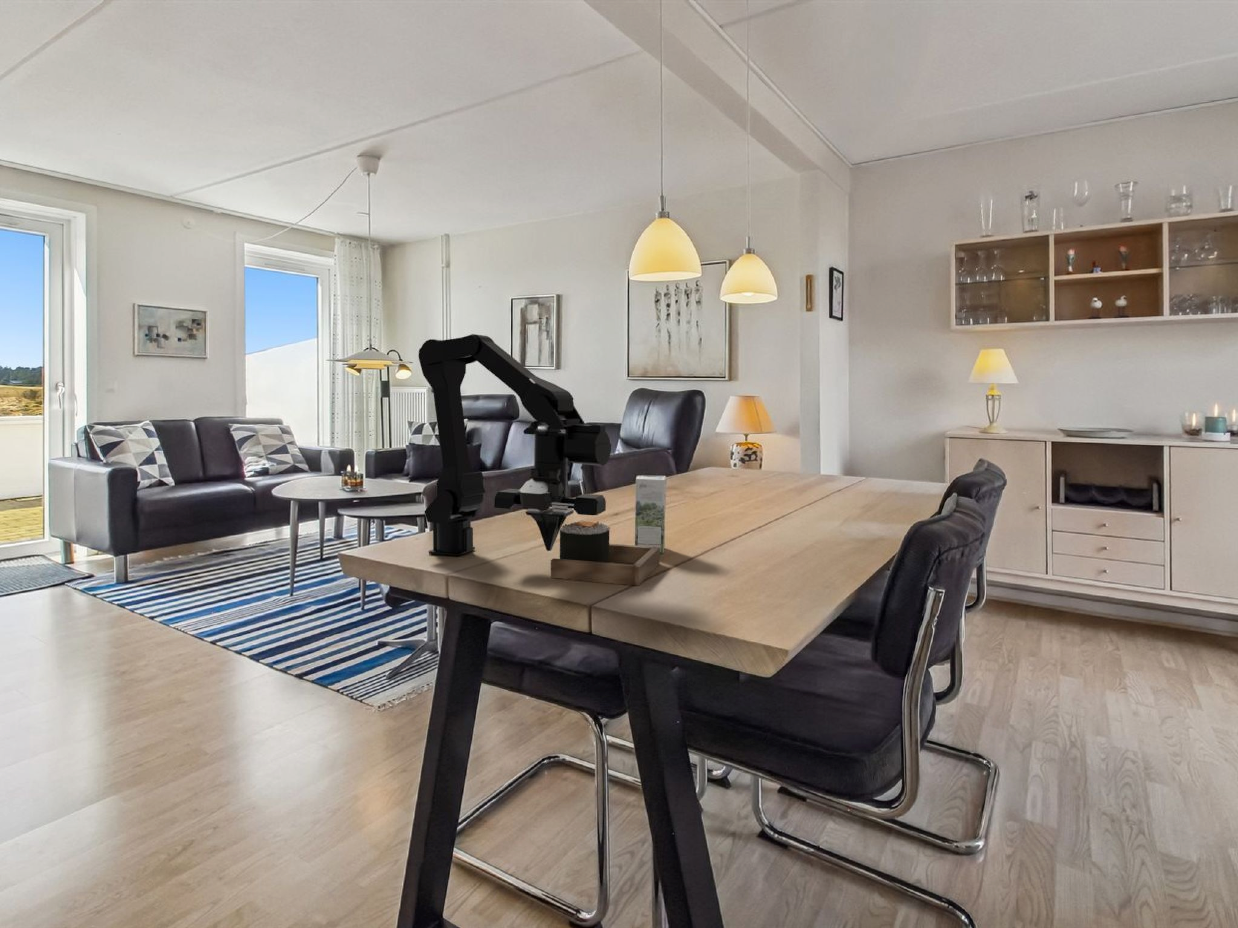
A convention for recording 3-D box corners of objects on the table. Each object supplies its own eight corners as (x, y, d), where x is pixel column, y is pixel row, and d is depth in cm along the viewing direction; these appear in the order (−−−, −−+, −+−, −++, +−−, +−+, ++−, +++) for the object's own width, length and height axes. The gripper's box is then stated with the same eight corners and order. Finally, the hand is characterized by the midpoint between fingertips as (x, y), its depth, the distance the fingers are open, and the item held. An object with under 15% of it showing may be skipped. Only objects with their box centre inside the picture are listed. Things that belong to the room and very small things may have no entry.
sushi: (552, 571, 119) (552, 524, 118) (575, 560, 126) (576, 517, 126) (595, 576, 116) (595, 529, 115) (616, 566, 123) (616, 521, 122)
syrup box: (665, 547, 139) (666, 474, 138) (664, 554, 133) (665, 478, 132) (636, 546, 139) (637, 474, 138) (634, 553, 134) (635, 477, 132)
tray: (550, 578, 114) (550, 560, 114) (581, 557, 129) (581, 541, 129) (638, 585, 110) (638, 567, 110) (659, 563, 125) (659, 547, 125)
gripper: (480, 462, 116) (479, 555, 117) (587, 469, 111) (585, 565, 112) (508, 457, 126) (507, 542, 128) (607, 463, 121) (605, 551, 123)
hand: (549, 550), depth 122 cm, fingers closed
